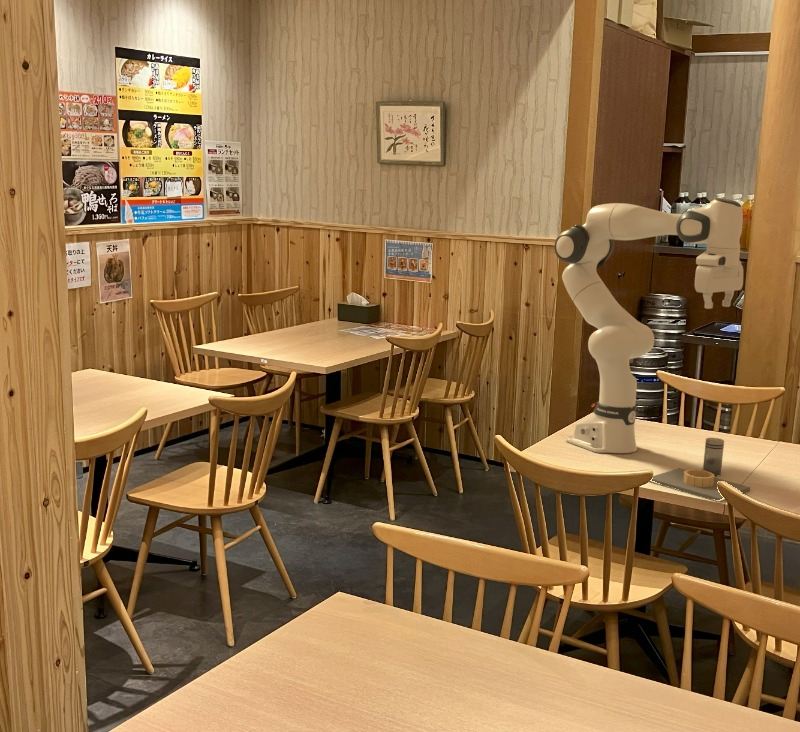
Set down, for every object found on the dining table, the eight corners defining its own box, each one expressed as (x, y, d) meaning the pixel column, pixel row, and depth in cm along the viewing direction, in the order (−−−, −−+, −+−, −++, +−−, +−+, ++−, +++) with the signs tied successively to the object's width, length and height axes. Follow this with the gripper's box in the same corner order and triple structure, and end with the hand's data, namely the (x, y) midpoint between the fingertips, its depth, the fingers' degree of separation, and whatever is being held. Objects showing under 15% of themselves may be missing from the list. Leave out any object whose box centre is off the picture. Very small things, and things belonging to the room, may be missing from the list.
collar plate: (647, 481, 269) (648, 469, 268) (678, 471, 279) (679, 459, 279) (719, 502, 253) (720, 489, 252) (749, 490, 263) (751, 478, 263)
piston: (699, 473, 278) (702, 439, 276) (708, 469, 282) (711, 436, 280) (715, 477, 275) (718, 443, 273) (724, 474, 278) (727, 440, 276)
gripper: (730, 256, 278) (726, 304, 281) (692, 258, 265) (688, 308, 267) (751, 258, 274) (746, 306, 276) (713, 260, 260) (708, 311, 263)
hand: (717, 307), depth 272 cm, fingers open, 8 cm apart
